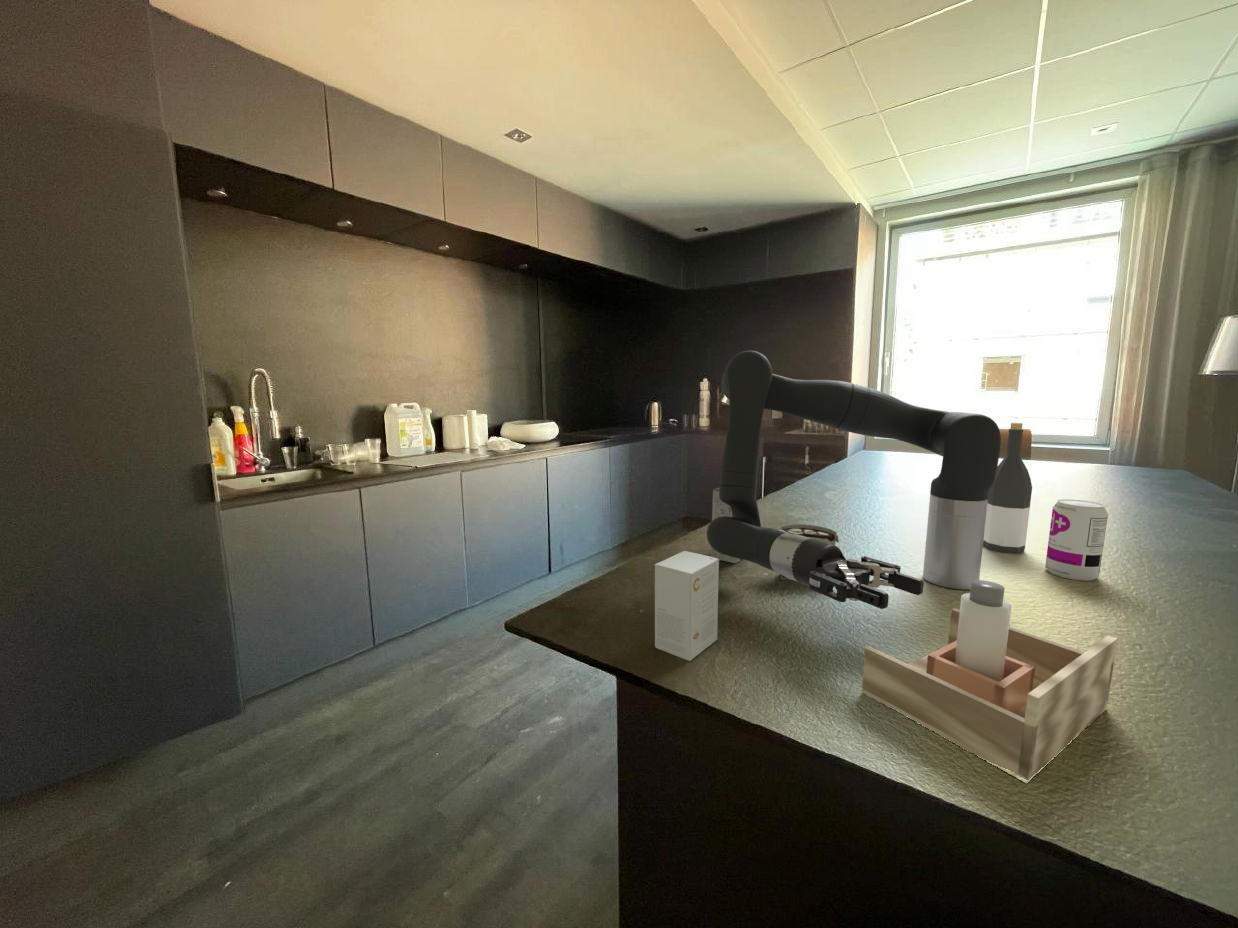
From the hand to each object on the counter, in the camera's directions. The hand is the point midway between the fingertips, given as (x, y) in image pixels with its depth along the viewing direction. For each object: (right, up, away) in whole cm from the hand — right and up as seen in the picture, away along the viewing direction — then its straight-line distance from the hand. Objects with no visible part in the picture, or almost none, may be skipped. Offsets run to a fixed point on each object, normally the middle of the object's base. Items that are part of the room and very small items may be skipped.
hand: (905, 594), depth 67 cm
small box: (-29, -9, +7) cm, 31 cm away
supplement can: (+54, -5, +34) cm, 64 cm away
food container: (-1, -5, +35) cm, 35 cm away
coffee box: (-13, -4, +46) cm, 48 cm away
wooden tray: (+5, -11, -7) cm, 14 cm away
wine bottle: (+53, -3, +51) cm, 73 cm away
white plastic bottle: (+5, -10, -7) cm, 13 cm away
